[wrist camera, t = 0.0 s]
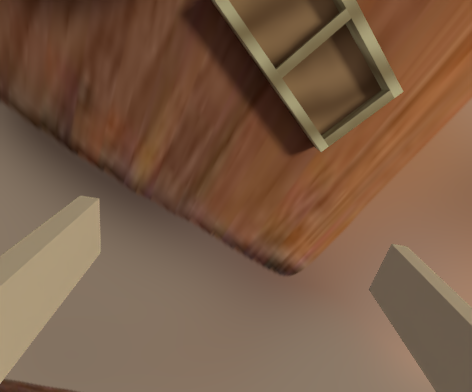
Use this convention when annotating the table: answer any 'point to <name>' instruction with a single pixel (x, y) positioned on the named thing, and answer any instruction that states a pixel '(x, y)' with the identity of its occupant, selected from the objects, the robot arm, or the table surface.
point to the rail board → (315, 60)
